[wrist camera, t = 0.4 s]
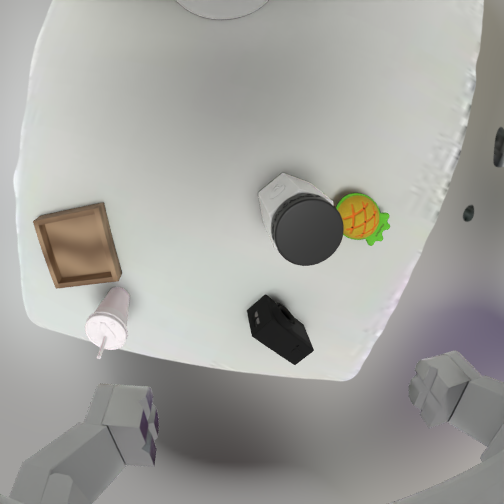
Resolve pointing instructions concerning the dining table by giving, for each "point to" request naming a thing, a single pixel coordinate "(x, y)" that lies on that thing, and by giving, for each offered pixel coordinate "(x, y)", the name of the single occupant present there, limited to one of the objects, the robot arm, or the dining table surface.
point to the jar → (300, 220)
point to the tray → (78, 246)
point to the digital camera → (279, 330)
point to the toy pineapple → (362, 218)
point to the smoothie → (109, 321)
